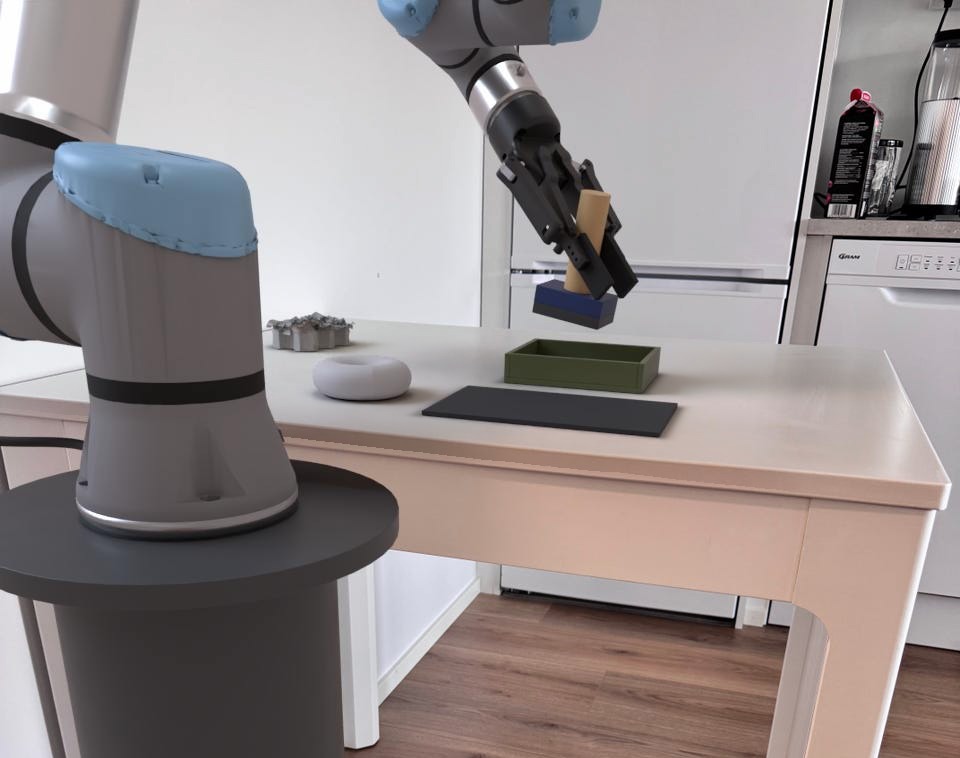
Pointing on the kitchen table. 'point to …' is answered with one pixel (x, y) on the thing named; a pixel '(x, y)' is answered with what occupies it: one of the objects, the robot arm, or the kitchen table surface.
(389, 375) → the donut
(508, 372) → the tray
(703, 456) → the kitchen table surface
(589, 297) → the brush
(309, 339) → the egg carton
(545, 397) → the mat
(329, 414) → the kitchen table surface
